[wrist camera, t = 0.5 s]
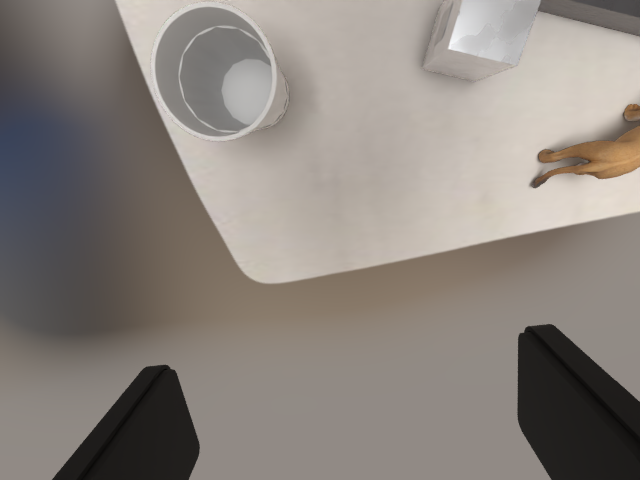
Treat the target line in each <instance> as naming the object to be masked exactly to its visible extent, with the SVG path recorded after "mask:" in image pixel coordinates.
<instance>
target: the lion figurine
mask: <svg viewBox="0 0 640 480" xmlns="http://www.w3.org/2000/svg"><path fill="white" fill-rule="evenodd" d="M624 117H625V119H626V120H628V121H639V120H640V106H638V105H637V104H633V105H632V104H630V105H628V106H627V108H626V109H625V112H624ZM568 157H573V158H574V157H580V158H582V159H585V160H588V161H589V163H580V164H578V165H577V166H569V167H562V168H557V169H554V170H551V171H549V172H547V173H546V174H544V175H543V176H541V177H539V178H537V179H536V180H535V182H534V183H533V184H532V187H533V188H537V187H539V186H540V185H541V184H543V183H545V182H546V181H547V179H549V178H550V177H551V176H553V175H556V174H562V173H575V174H578V175H584V174H587V175H592V176H595V177H596V178H598V179H607V178H613V177H618V176H621V175H623V174H626V173H629V172H632V171H634V170H635V169H637V168H638V167H640V126H637V127H636V128H634V129H632V130H630V131H628V132H627V133H625V134H623V135H622V136H620V137H619V138H618V139H617V140H616V141H594V142H586V143H581V144H578V145H574V146H571V147H569V148H566V149H564V150H561V151H558V152H555V153H554V152H553V151H551V150H547V149H546V150H543V151H542V152H540V154H539V159H540V161H541V162H542V163H548V162H556V161H559V160H561V159H563V158H568Z"/></svg>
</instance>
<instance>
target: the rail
mask: <svg viewBox="0 0 640 480" xmlns="http://www.w3.org/2000/svg"><path fill="white" fill-rule="evenodd" d="M538 11H542V12H546V13H550V14H554V15H558V16H562V17H566V18H570V19H574V20H578V21H582V22H586V23H590V24H594V25H598V26H602V27H606V28H610V29H614V30H618V31H622V32H626V33H630V34H634V35H638V36H640V0H541V2H540V5H539V7H538Z"/></svg>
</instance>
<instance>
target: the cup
mask: <svg viewBox="0 0 640 480" xmlns="http://www.w3.org/2000/svg"><path fill="white" fill-rule="evenodd" d="M151 78H152V83H153V87H154V90H155V93H156V96H157V98H158V100H159V102H160V104H161V106H162V107H163V109H164V110H165V112H166V113H167V115H168V116H169V117H170V118H171V119H172V120H173V121H174V122H175V123H176V124H177V125H178V126H179V127H180V128H182V129H183V130H185V131H186V132H188V133H189V134H191V135H193V136H196V137H198V138H201V139H204V140H209V141H229V140H234V139H237V138H240V137H242V136H244V135H247V134H249V133H251V132H253V131H256V130H260V129H266V128H269V127H271V126H273V125H275V124H276V123H277V122H279V121H280V119H281V118H282V117H283V116H284V114H285V112H286V110H287V107H288V104H289V87H288V84H287V81H286V79H285V77H284V75H283V73H282V72H281V70H280V68H279V65H278V63H277V61H276V58H275V56H274V53H273V51H272V48H271V46H270V43H269V41H268V39H267V38H266V36H265V34H264V33H263V31H262V30H261V29H260V27H259V26H258V25H257V24H256V23H255V22H254V21H253V20H252V19H251V18H250V17H249V16H248V15H246V14H245V13H244V12H242V11H241V10H239V9H237V8H235V7H233V6H231V5H228V4H225V3H221V2H214V1H202V2H196V3H193V4H190V5H187V6H185V7H183V8H181V9H179V10H178V11H176V12H175V13H174V14H172V15H171V16H170V17H169V18H168V19H167V20H166V22H165V23H164V24H163V26H162V27H161V29H160V30H159V32H158V34H157V36H156V39H155V41H154V44H153V48H152V53H151Z"/></svg>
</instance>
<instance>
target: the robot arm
mask: <svg viewBox="0 0 640 480" xmlns="http://www.w3.org/2000/svg"><path fill="white" fill-rule="evenodd" d="M518 422H519V425H520V428H521V430H522V432H523V434H524V436H525V437H526V439H527V440H528V442H529V444H530V445H531V447H532V449H533V450H534V452H535V454H536V455H537V457H538V458H539V460H540V462H541V463H542V465H543V466H544V468H545V470H546V471H547V473H548V475H549V476H550V478H551V479H552V480H640V402H639V401H638V400H637V399H636V398H635V397H634V396H632V395H631V394H630V393H629V392H628V391H627V390H626V389H625V388H624V387H622V386H621V385H620V384H619V383H618V382H617V381H615V380H614V379H613V378H612V377H611V376H610V375H609V374H608V373H606V372H605V371H604V370H603V369H602V368H601V367H600V366H599V365H597V364H596V363H595V362H594V361H593V360H592V359H591V358H590V357H589V356H587V355H586V354H585V353H584V352H583V351H582V350H581V349H580V348H578V347H577V346H576V345H575V344H574V343H573V342H572V341H571V340H570V339H569V338H567V337H566V336H565V335H564V334H563V333H562V332H561V331H560V330H559V329H557V328H556V327H555V326H554V325H552V324H547V325H537V326H528V327H526V328H525V331H524V333H520V335H519V337H518ZM199 449H200V447H199V441H198V438H197V435H196V432H195V429H194V425H193V422H192V419H191V416H190V413H189V410H188V407H187V404H186V401H185V398H184V395H183V392H182V389H181V386H180V382H179V379H178V376H177V373H176V371H175V370H172V369H170V367H169V366H168V365H158V366H149V367H145V368H144V369H143V370H142V371H141V372H140V373H139V375H138V376H137V377H136V378H135V379H134V381H133V382H132V383H131V384H130V385H129V387H128V388H127V389H126V390H125V392H124V393H123V394H122V395H121V396H120V398H119V399H118V400H117V401H116V403H115V404H114V405H113V406H112V407H111V409H110V410H109V411H108V412H107V413H106V415H105V416H104V417H103V418H102V419H101V421H100V422H99V423H98V424H97V426H96V427H95V428H94V429H93V430H92V432H91V433H90V434H89V435H88V437H87V438H86V439H85V440H84V441H83V443H82V444H81V445H80V446H79V447H78V449H77V450H76V451H75V452H74V454H73V455H72V456H71V457H70V458H69V460H68V461H67V462H66V463H65V464H64V466H63V467H62V468H61V470H60V471H59V472H58V473H57V474H56V475H55V477H54V478H53V479H52V480H189V477H190V475H191V473H192V470H193V468H194V466H195V463H196V461H197V459H198V456H199Z"/></svg>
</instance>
